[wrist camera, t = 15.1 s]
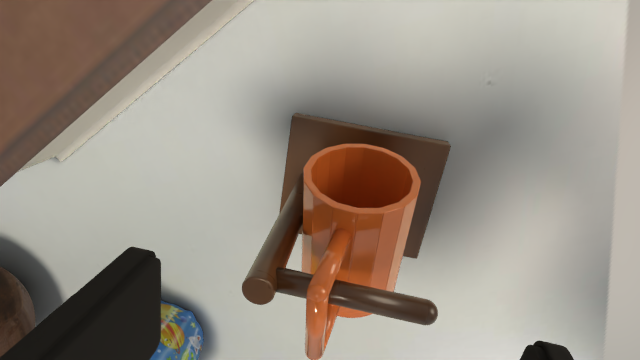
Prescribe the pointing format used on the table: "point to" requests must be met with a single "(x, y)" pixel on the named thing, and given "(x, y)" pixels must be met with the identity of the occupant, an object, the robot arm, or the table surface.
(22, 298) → the wooden sphere
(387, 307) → the mug stand
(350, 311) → the mug
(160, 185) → the table surface
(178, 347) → the snack cup
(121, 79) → the book
